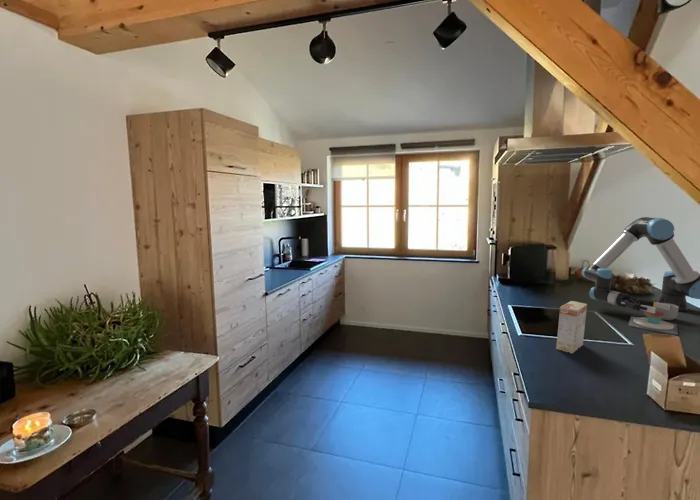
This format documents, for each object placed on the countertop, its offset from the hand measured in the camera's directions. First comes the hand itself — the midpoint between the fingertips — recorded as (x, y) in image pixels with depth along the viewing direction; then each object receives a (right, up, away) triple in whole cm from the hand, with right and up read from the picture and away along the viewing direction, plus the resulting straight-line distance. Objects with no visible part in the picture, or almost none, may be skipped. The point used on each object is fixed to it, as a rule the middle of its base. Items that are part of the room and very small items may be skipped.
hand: (662, 309), depth 199 cm
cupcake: (-2, -8, +4) cm, 9 cm away
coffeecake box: (-64, -13, -27) cm, 71 cm away
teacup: (+15, -8, +19) cm, 26 cm away
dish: (-2, -9, +4) cm, 11 cm away
